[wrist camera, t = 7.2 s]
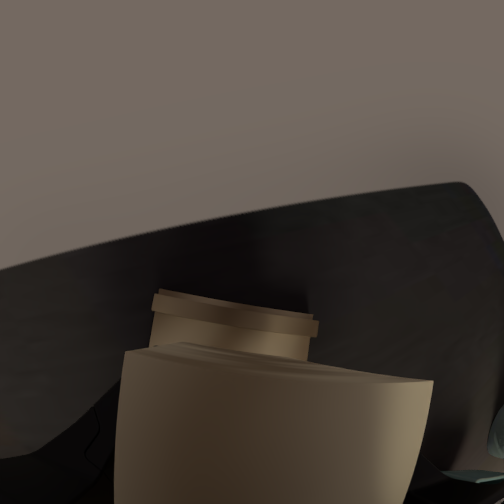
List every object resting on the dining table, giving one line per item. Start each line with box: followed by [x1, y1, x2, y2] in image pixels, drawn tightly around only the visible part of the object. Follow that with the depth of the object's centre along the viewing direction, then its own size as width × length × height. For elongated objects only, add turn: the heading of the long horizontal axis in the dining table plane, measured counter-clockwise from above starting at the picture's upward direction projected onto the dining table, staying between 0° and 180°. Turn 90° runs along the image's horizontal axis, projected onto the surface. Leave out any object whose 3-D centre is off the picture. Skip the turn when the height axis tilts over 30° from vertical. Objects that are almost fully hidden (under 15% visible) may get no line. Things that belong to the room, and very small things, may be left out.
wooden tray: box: [149, 289, 319, 361], centre depth 20 cm, size 12×10×2 cm
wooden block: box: [114, 341, 433, 504], centre depth 10 cm, size 6×4×12 cm, turn 82°
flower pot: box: [441, 470, 504, 484], centre depth 15 cm, size 9×9×9 cm
